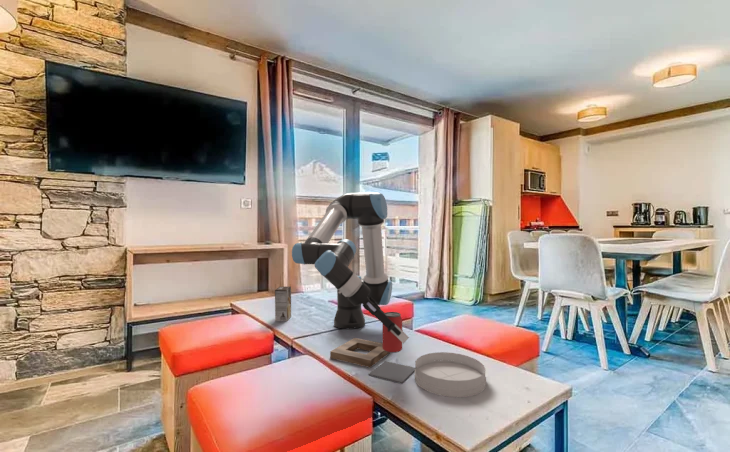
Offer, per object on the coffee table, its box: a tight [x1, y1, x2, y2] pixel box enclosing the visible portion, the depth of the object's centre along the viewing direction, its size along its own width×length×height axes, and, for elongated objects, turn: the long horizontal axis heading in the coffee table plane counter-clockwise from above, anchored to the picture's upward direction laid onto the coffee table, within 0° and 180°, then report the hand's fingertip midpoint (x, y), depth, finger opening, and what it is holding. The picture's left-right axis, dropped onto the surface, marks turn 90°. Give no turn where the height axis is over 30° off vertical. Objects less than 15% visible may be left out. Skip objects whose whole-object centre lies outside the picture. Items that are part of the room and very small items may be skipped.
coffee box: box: [274, 285, 292, 322], centre depth 183 cm, size 9×6×16 cm
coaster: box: [368, 360, 415, 384], centre depth 119 cm, size 12×12×1 cm
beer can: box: [382, 311, 403, 354], centre depth 118 cm, size 7×7×12 cm
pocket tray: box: [329, 337, 391, 368], centre depth 134 cm, size 17×17×2 cm
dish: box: [414, 351, 487, 398], centre depth 113 cm, size 22×22×5 cm
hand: (402, 336), depth 119 cm, fingers closed on beer can, 7 cm apart
